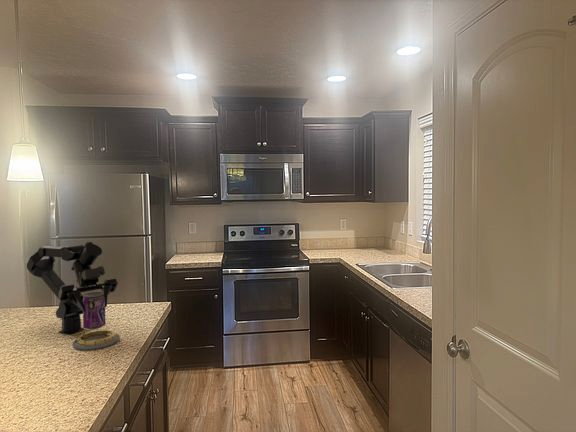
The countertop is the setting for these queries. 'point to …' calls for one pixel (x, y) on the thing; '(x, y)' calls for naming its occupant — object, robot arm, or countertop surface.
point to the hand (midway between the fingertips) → (95, 308)
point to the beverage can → (94, 310)
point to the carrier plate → (87, 348)
